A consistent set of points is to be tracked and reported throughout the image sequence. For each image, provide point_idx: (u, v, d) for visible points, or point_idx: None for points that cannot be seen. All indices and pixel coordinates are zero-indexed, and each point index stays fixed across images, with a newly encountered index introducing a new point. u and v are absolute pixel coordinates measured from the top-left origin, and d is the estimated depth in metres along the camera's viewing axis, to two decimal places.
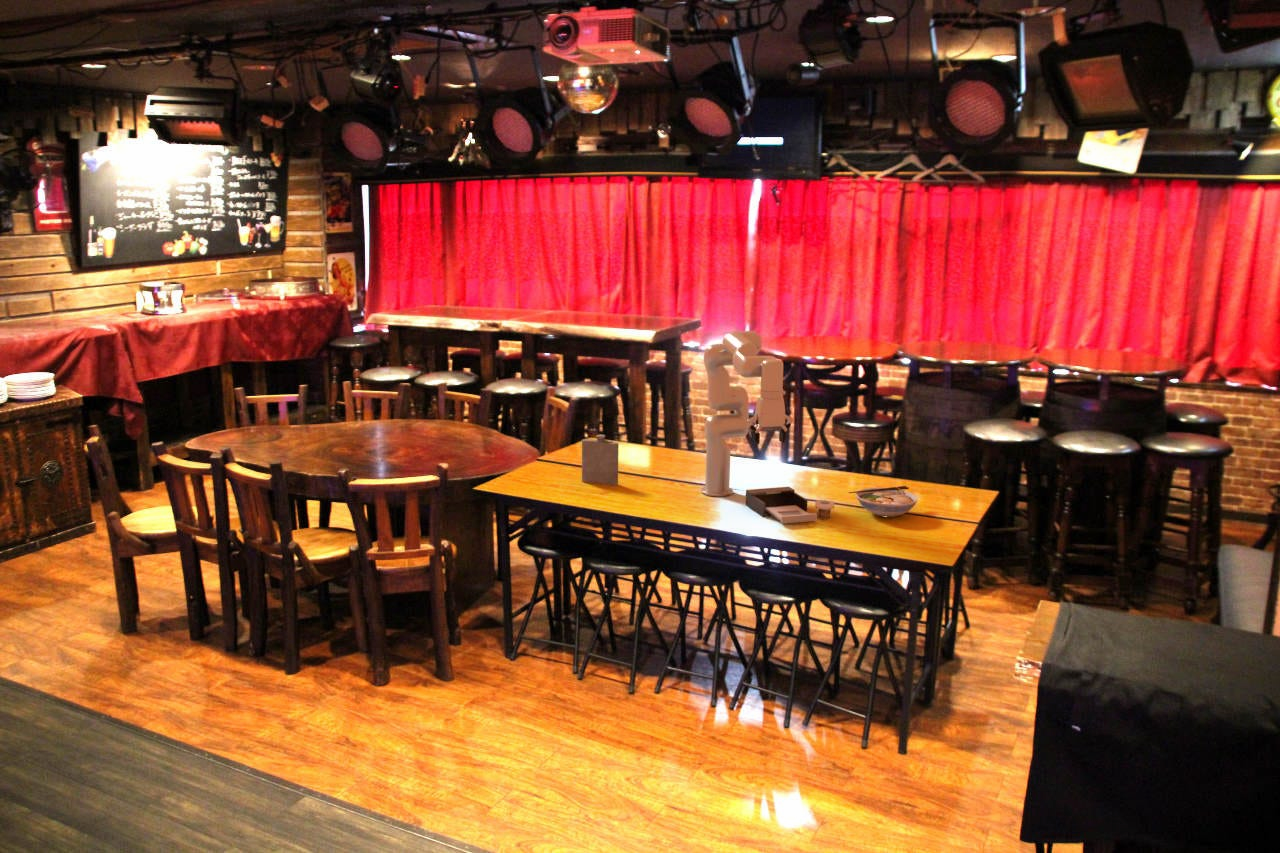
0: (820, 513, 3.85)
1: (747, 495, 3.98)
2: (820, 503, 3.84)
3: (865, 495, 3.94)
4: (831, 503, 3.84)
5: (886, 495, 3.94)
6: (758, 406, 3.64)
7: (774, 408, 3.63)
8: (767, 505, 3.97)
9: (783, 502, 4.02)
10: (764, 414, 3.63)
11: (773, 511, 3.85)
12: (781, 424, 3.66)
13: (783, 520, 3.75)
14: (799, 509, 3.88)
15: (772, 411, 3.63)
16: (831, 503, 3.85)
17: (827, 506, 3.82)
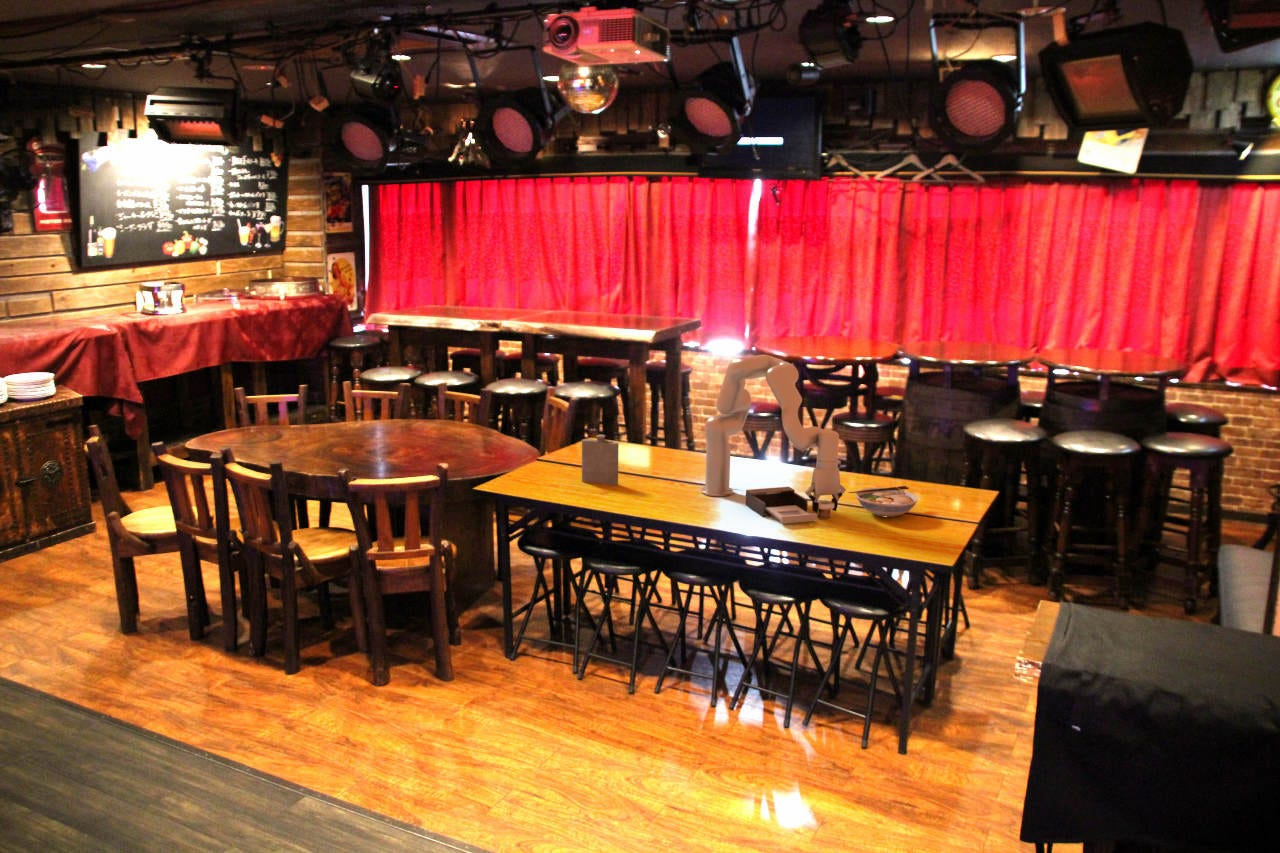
0: (820, 513, 3.85)
1: (747, 495, 3.98)
2: (820, 503, 3.84)
3: (865, 495, 3.94)
4: (831, 503, 3.84)
5: (886, 495, 3.94)
6: (814, 475, 3.81)
7: (830, 477, 3.81)
8: (767, 505, 3.97)
9: (783, 502, 4.02)
10: (820, 483, 3.80)
11: (773, 511, 3.85)
12: (836, 492, 3.83)
13: (783, 520, 3.75)
14: (799, 509, 3.88)
15: (828, 480, 3.81)
16: (831, 503, 3.85)
17: (827, 506, 3.82)
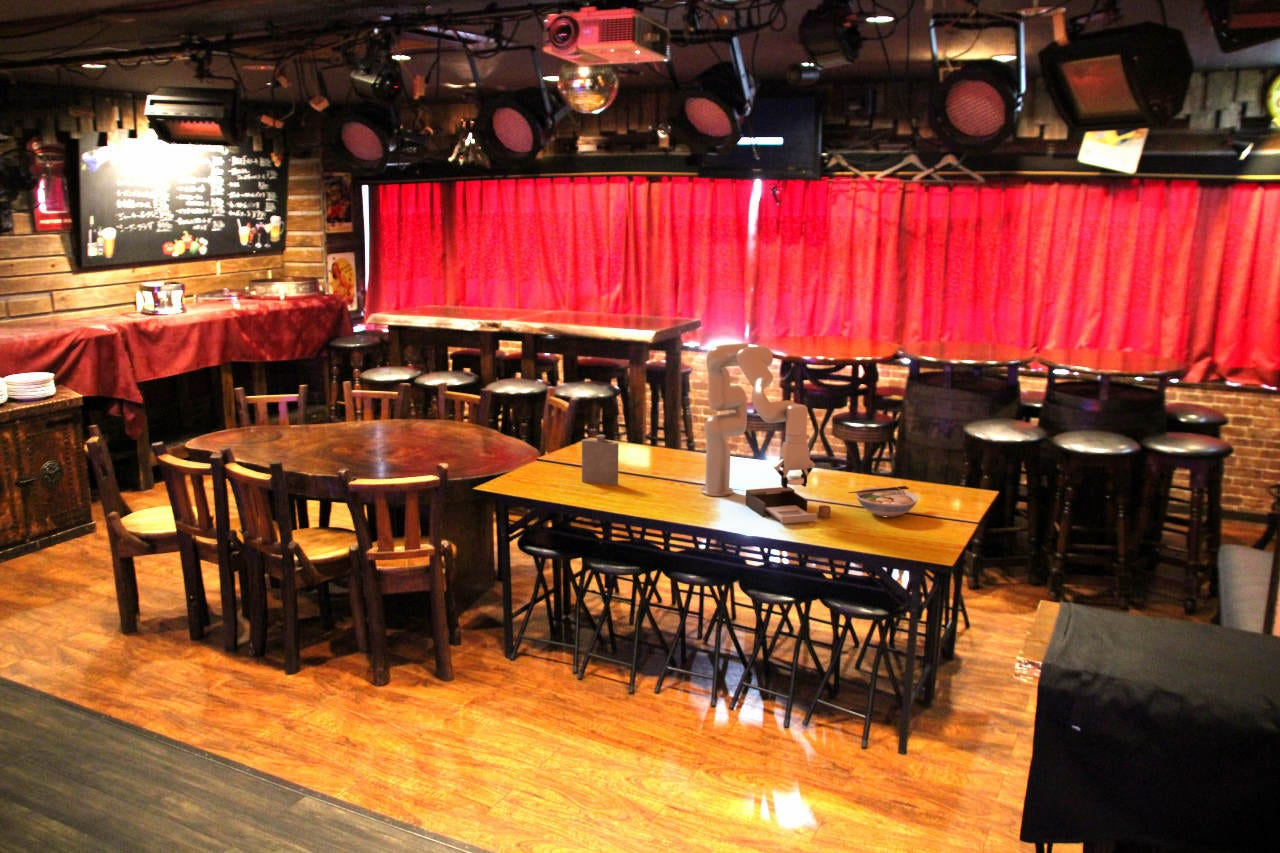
0: (820, 513, 3.85)
1: (747, 495, 3.98)
2: (789, 478, 3.78)
3: (865, 495, 3.94)
4: (801, 479, 3.78)
5: (886, 495, 3.94)
6: (783, 450, 3.75)
7: (799, 452, 3.75)
8: (767, 505, 3.97)
9: (783, 502, 4.02)
10: (789, 458, 3.74)
11: (773, 511, 3.85)
12: (805, 467, 3.77)
13: (783, 520, 3.75)
14: (799, 509, 3.88)
15: (797, 455, 3.75)
16: (800, 478, 3.79)
17: (796, 481, 3.76)
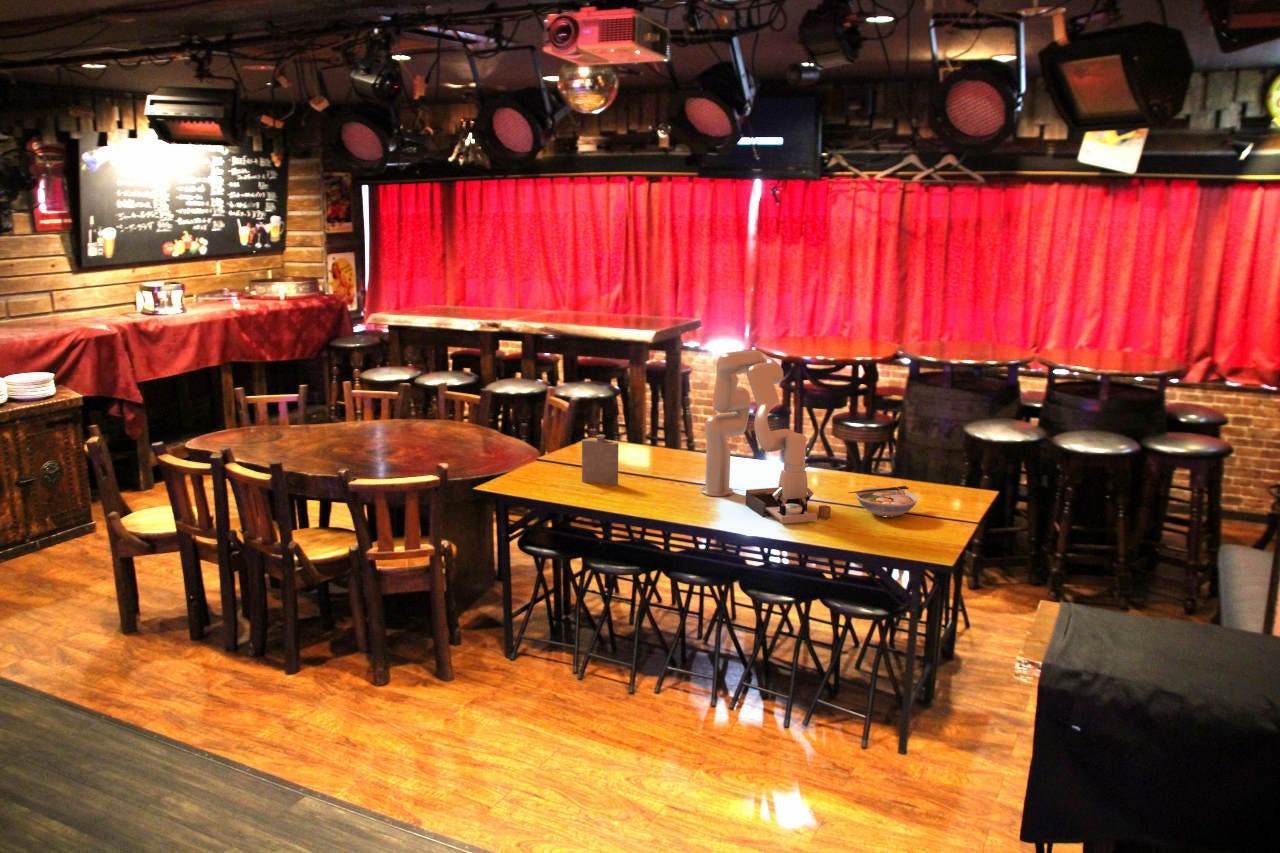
0: (820, 513, 3.85)
1: (747, 495, 3.98)
2: (787, 507, 3.81)
3: (865, 495, 3.94)
4: (799, 507, 3.80)
5: (886, 495, 3.94)
6: (782, 478, 3.78)
7: (797, 481, 3.77)
8: (767, 505, 3.97)
9: None
10: (787, 486, 3.77)
11: (773, 511, 3.85)
12: (804, 495, 3.80)
13: (783, 520, 3.75)
14: None
15: (795, 484, 3.77)
16: (798, 506, 3.81)
17: (794, 510, 3.78)
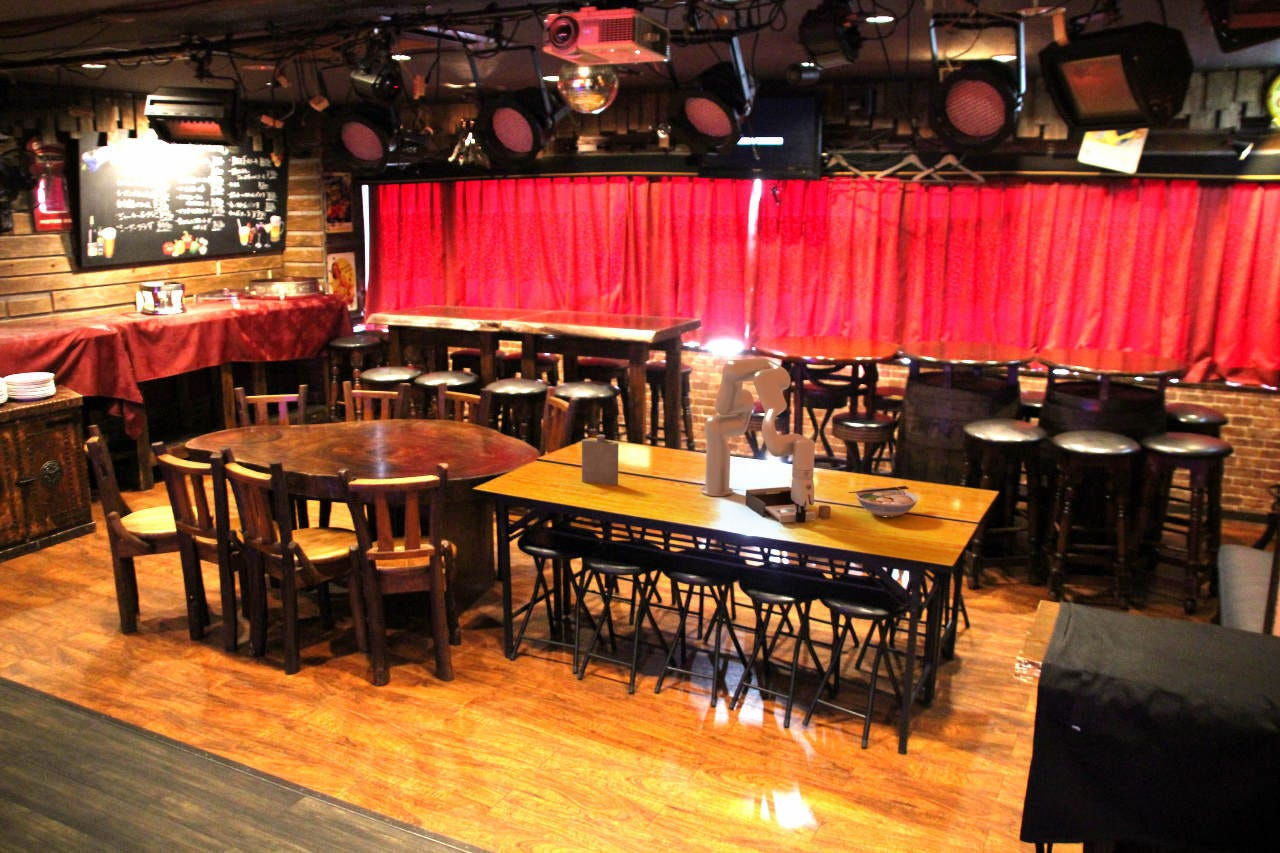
0: (820, 513, 3.85)
1: (747, 495, 3.98)
2: (785, 510, 3.83)
3: (865, 495, 3.94)
4: None
5: (886, 495, 3.94)
6: None
7: (796, 485, 3.72)
8: (767, 505, 3.97)
9: (783, 502, 4.02)
10: (792, 488, 3.76)
11: (772, 510, 3.86)
12: (800, 503, 3.71)
13: (781, 519, 3.76)
14: None
15: (795, 488, 3.73)
16: None
17: (792, 513, 3.80)
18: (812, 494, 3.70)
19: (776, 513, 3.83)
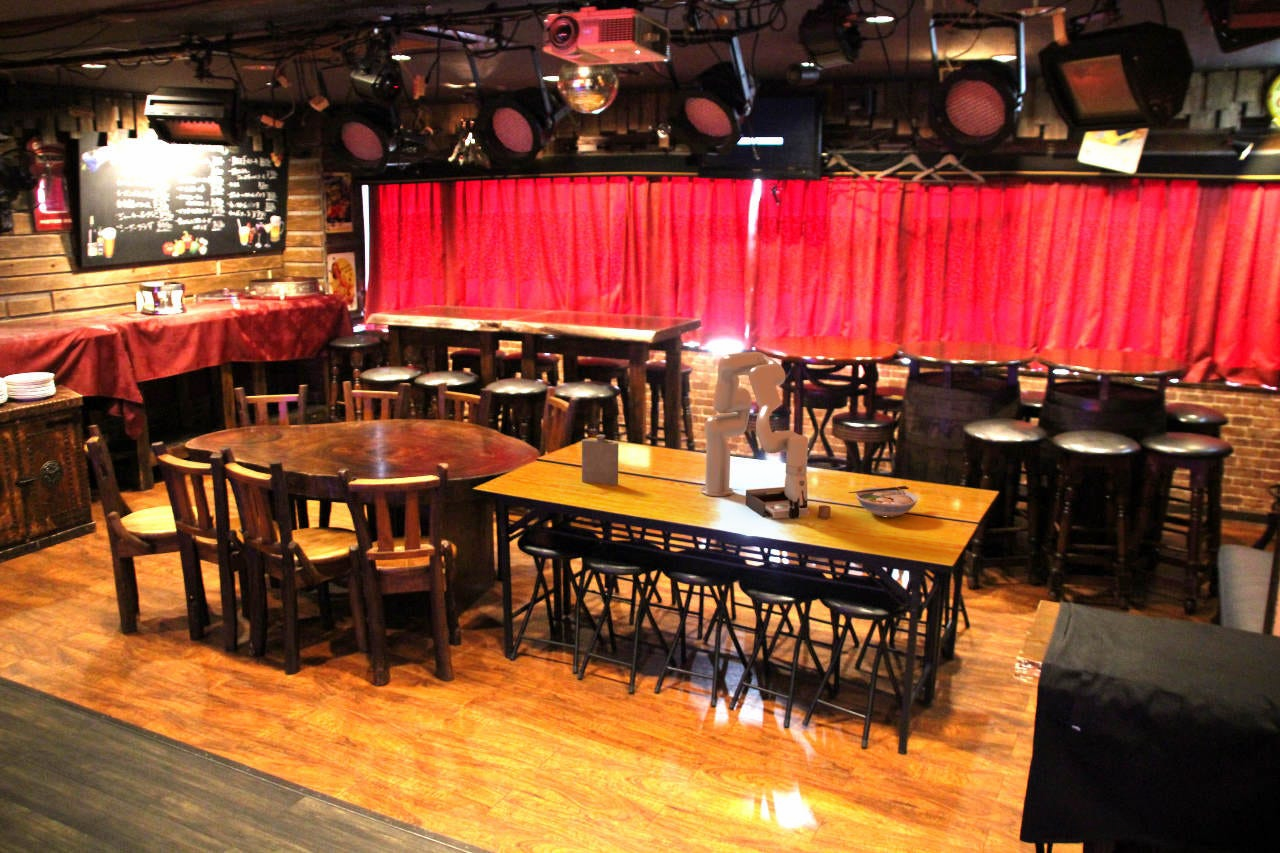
0: (820, 513, 3.85)
1: (747, 495, 3.98)
2: (779, 506, 3.87)
3: (865, 495, 3.94)
4: None
5: (886, 495, 3.94)
6: None
7: (789, 481, 3.77)
8: None
9: None
10: (785, 484, 3.81)
11: (766, 506, 3.91)
12: (793, 499, 3.76)
13: (775, 515, 3.81)
14: None
15: (788, 484, 3.78)
16: None
17: (785, 509, 3.85)
18: (805, 490, 3.74)
19: (770, 509, 3.88)
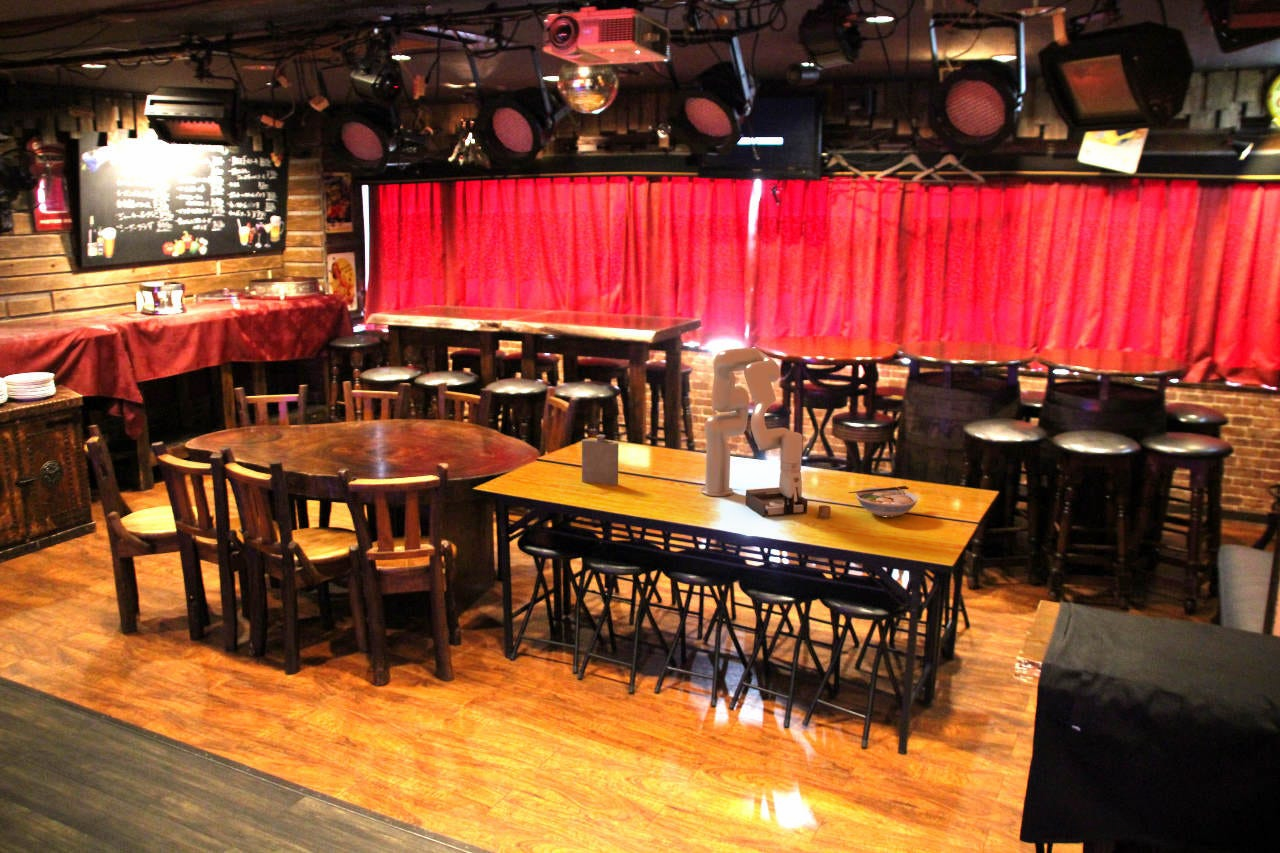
0: (820, 513, 3.85)
1: (747, 495, 3.98)
2: (774, 503, 3.92)
3: (865, 495, 3.94)
4: None
5: (886, 495, 3.94)
6: None
7: (784, 478, 3.81)
8: None
9: None
10: (780, 480, 3.85)
11: None
12: (788, 496, 3.80)
13: (770, 511, 3.85)
14: None
15: (783, 480, 3.82)
16: None
17: None
18: (800, 486, 3.79)
19: (765, 505, 3.92)
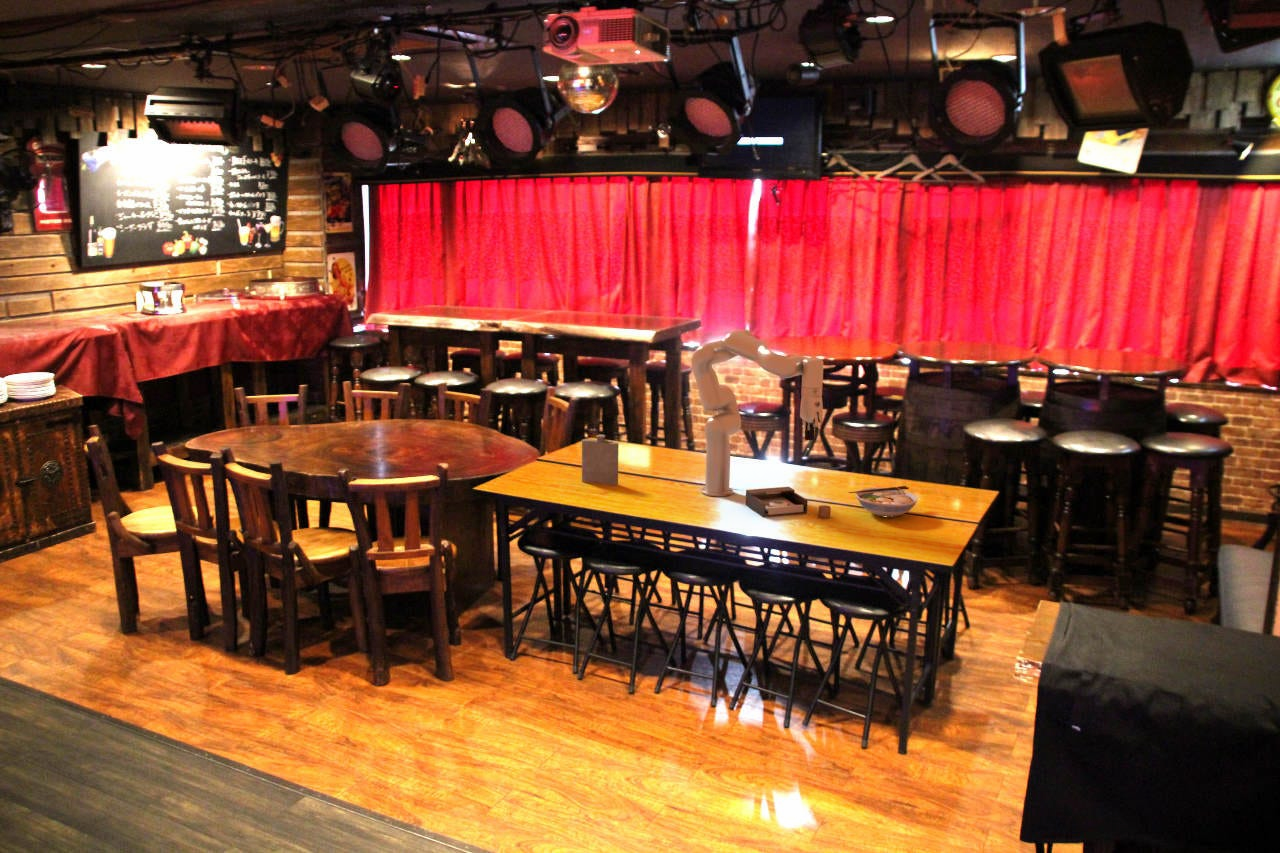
0: (820, 513, 3.85)
1: (747, 495, 3.98)
2: (774, 503, 3.91)
3: (865, 495, 3.94)
4: (785, 503, 3.91)
5: (886, 495, 3.94)
6: None
7: (805, 403, 3.86)
8: None
9: None
10: (801, 407, 3.90)
11: None
12: (809, 421, 3.85)
13: (770, 511, 3.85)
14: (786, 501, 3.98)
15: (804, 406, 3.87)
16: (784, 502, 3.92)
17: None
18: (821, 411, 3.84)
19: (765, 506, 3.92)
